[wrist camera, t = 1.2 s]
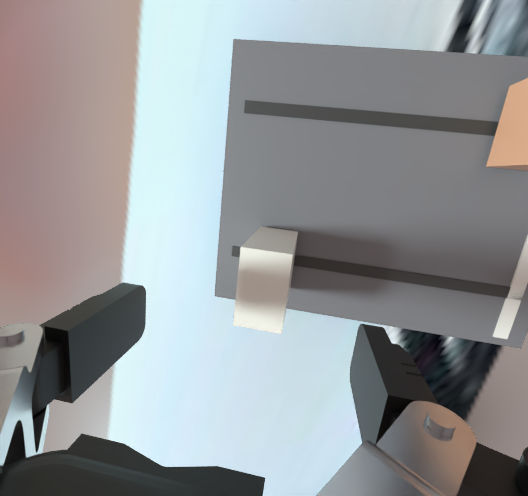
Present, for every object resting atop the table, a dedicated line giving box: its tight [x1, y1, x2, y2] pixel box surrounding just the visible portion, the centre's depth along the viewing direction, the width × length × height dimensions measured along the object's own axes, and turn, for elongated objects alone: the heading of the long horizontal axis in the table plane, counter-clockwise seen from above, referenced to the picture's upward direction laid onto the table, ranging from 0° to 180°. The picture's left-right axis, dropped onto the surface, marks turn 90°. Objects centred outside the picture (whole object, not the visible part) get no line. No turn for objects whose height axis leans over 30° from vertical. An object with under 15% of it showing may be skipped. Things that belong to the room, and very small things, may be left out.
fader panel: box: [215, 39, 528, 348], centre depth 19 cm, size 20×16×2 cm
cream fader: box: [233, 227, 298, 334], centre depth 17 cm, size 2×4×6 cm, turn 174°
